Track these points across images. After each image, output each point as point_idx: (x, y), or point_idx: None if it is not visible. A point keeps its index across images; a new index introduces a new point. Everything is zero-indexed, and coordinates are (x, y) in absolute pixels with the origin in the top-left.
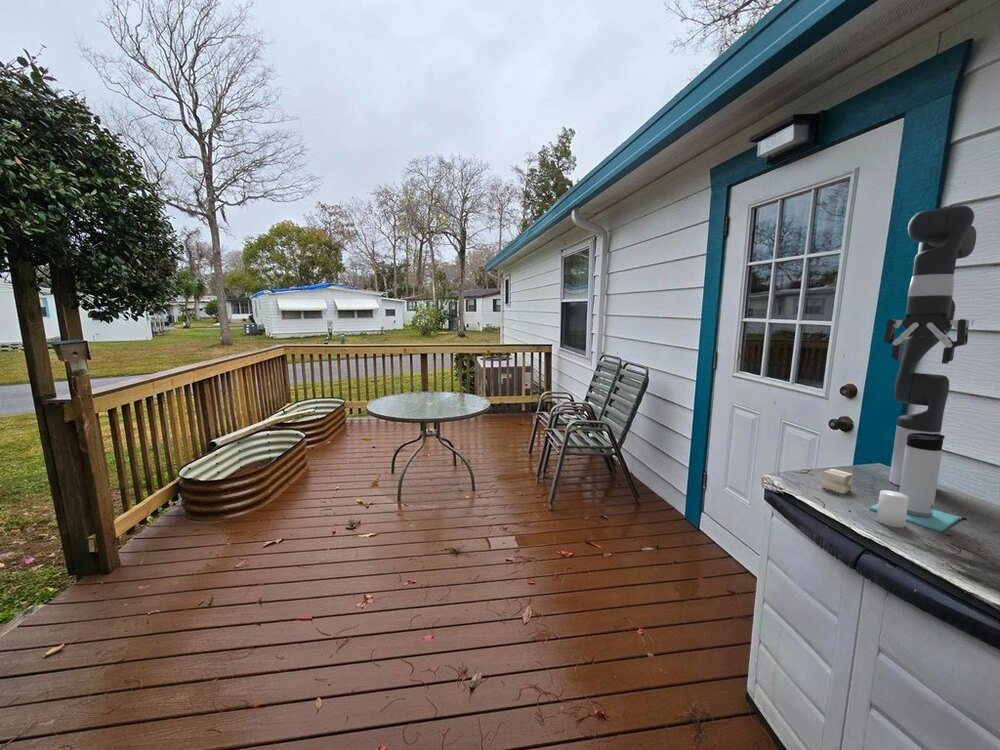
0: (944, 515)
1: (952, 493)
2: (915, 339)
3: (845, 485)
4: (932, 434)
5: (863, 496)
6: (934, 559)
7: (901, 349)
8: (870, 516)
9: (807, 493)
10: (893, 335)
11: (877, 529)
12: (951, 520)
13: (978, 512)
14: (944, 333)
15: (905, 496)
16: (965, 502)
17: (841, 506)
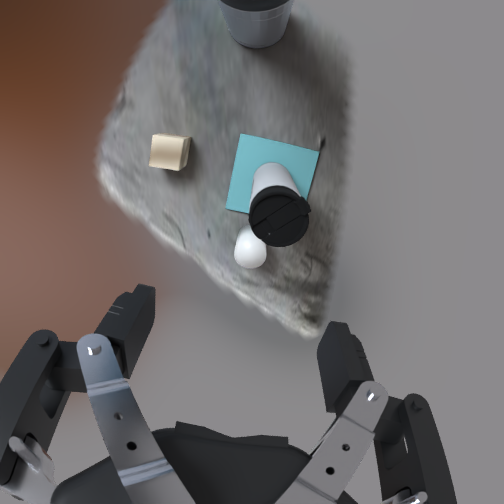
0: (303, 161)
1: (309, 23)
2: None
3: (184, 160)
4: (290, 196)
5: (210, 150)
6: (290, 305)
7: (133, 338)
8: (231, 234)
9: (154, 207)
10: (42, 382)
11: (243, 271)
12: (310, 177)
13: (339, 96)
14: (346, 461)
15: (262, 252)
16: (325, 58)
17: (198, 224)
